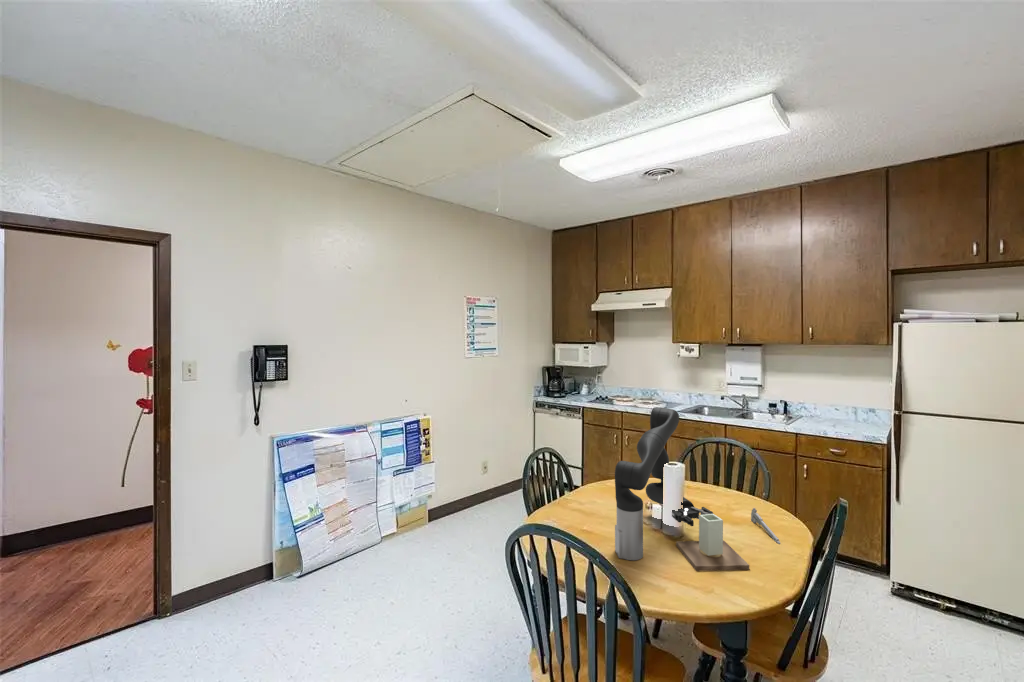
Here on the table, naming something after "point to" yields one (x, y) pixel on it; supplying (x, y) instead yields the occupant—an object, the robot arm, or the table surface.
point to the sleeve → (711, 534)
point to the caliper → (763, 524)
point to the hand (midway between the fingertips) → (703, 522)
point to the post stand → (711, 557)
